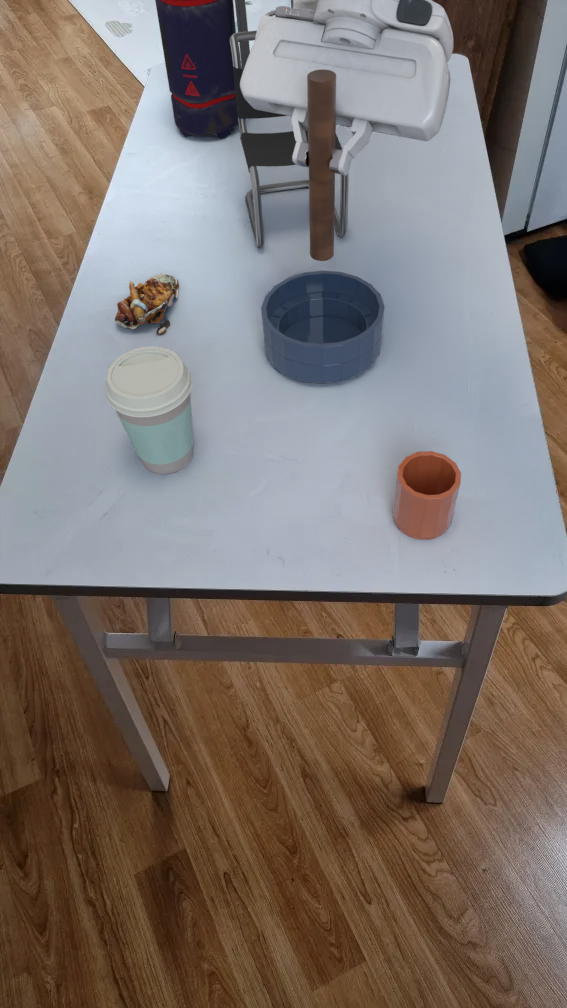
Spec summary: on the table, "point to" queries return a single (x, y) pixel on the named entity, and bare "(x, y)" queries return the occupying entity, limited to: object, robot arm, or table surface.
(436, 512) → the crock
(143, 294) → the loaded food tray
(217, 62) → the navy blue cylinder
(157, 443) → the coffee cup
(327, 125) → the brown wooden rod
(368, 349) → the bowl
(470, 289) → the table surface
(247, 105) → the chair
